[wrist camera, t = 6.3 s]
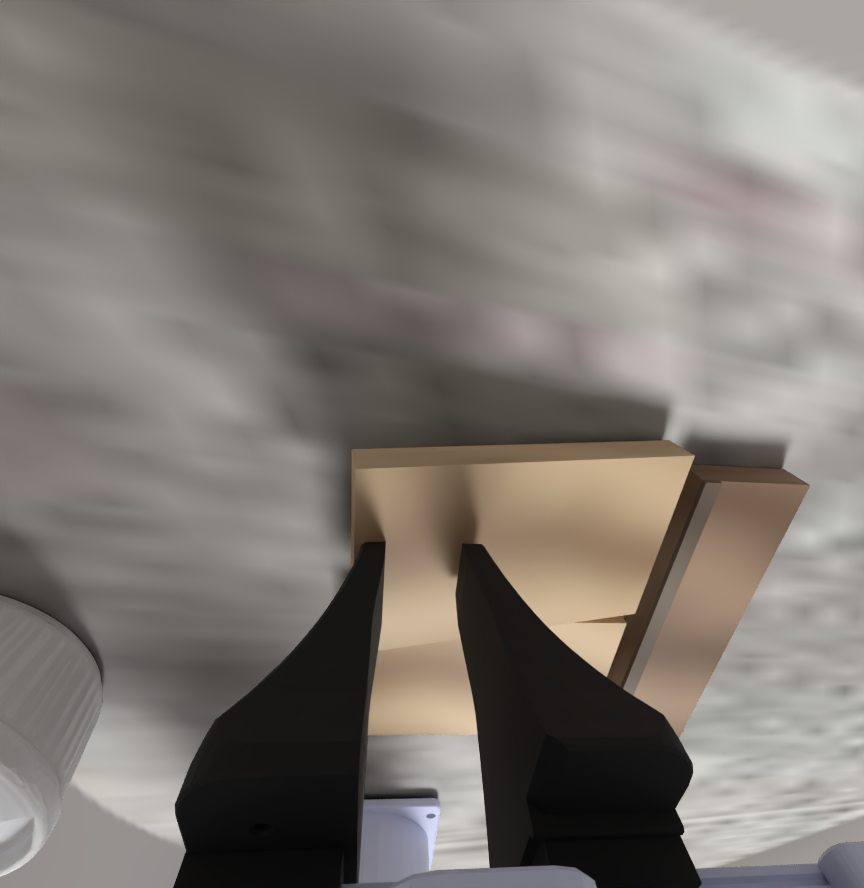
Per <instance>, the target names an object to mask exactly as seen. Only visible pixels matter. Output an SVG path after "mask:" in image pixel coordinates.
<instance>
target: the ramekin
mask: <svg viewBox="0 0 864 888" xmlns="http://www.w3.org/2000/svg"><path fill="white" fill-rule="evenodd" d="M102 703H103V688H102V684H101V676H100V672H99V669H98V666H97V664H96V661H95V659H94V658H93V656H92V655H91V653H90V652H89V650H88V649H87V648H86V646H85V645H84V644H83V643H82V642H81V641H80V640H79V638H78V637H77V636H75V635H74V634H73V633H72V632H71V631H70V630H69V629H68V628H66V627H65V626H64V625H62V624H61V623H60V622H58V621H57V620H55V619H54V618H52V617H50V616H49V615H47V614H45V613H43V612H42V611H40V610H38V609H36V608H33V607H31V606H29V605H27V604H24V603H22V602H19V601H17V600H14V599H11V598H8V597H5V596H2V595H0V876H3V875H6V874H8V873H10V872H12V871H14V870H16V869H18V868H19V867H21V866H22V865H24V864H25V863H27V862H28V861H29V860H30V859H32V858H33V857H34V856H35V855H36V854H37V853H38V851H39V850H40V849H41V848H42V846H43V845H44V843H45V842H46V840H47V839H48V837H49V835H50V834H51V832H52V830H53V828H54V826H55V824H56V823H57V820H58V818H59V816H60V813H61V809H62V800H63V799H62V798H63V796H64V793H65V791H66V789H67V787H68V785H69V783H70V780H71V778H72V776H73V774H74V772H75V770H76V767H77V765H78V763H79V761H80V759H81V756H82V754H83V752H84V749H85V747H86V745H87V742H88V740H89V738H90V736H91V734H92V731H93V729H94V727H95V725H96V722H97V720H98V718H99V715H100V711H101V707H102Z"/></svg>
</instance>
